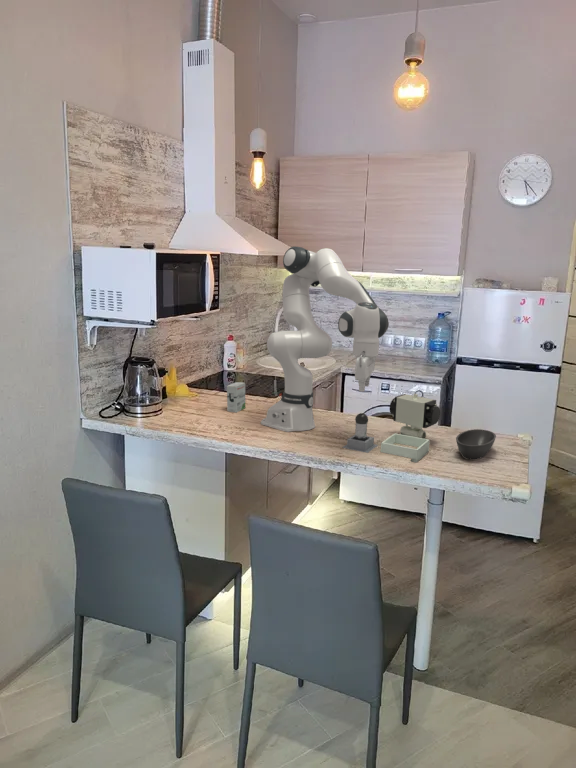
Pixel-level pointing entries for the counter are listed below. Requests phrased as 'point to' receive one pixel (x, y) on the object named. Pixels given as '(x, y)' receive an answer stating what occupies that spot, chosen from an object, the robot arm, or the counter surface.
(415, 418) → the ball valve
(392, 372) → the counter surface
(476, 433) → the bowl
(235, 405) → the ink box
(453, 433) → the counter surface
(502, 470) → the counter surface
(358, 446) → the socket block
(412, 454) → the bin
